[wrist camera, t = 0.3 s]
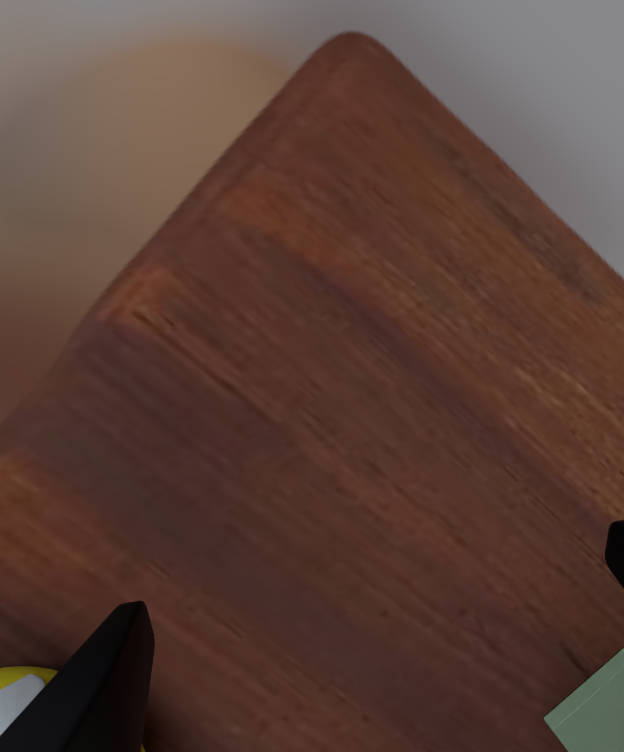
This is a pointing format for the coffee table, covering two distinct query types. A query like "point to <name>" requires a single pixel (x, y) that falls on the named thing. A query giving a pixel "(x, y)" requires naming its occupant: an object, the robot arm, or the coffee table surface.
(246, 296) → the coffee table surface
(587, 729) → the cabinet
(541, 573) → the coffee table surface
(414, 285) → the coffee table surface
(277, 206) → the coffee table surface
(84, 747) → the robot arm
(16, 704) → the donut
